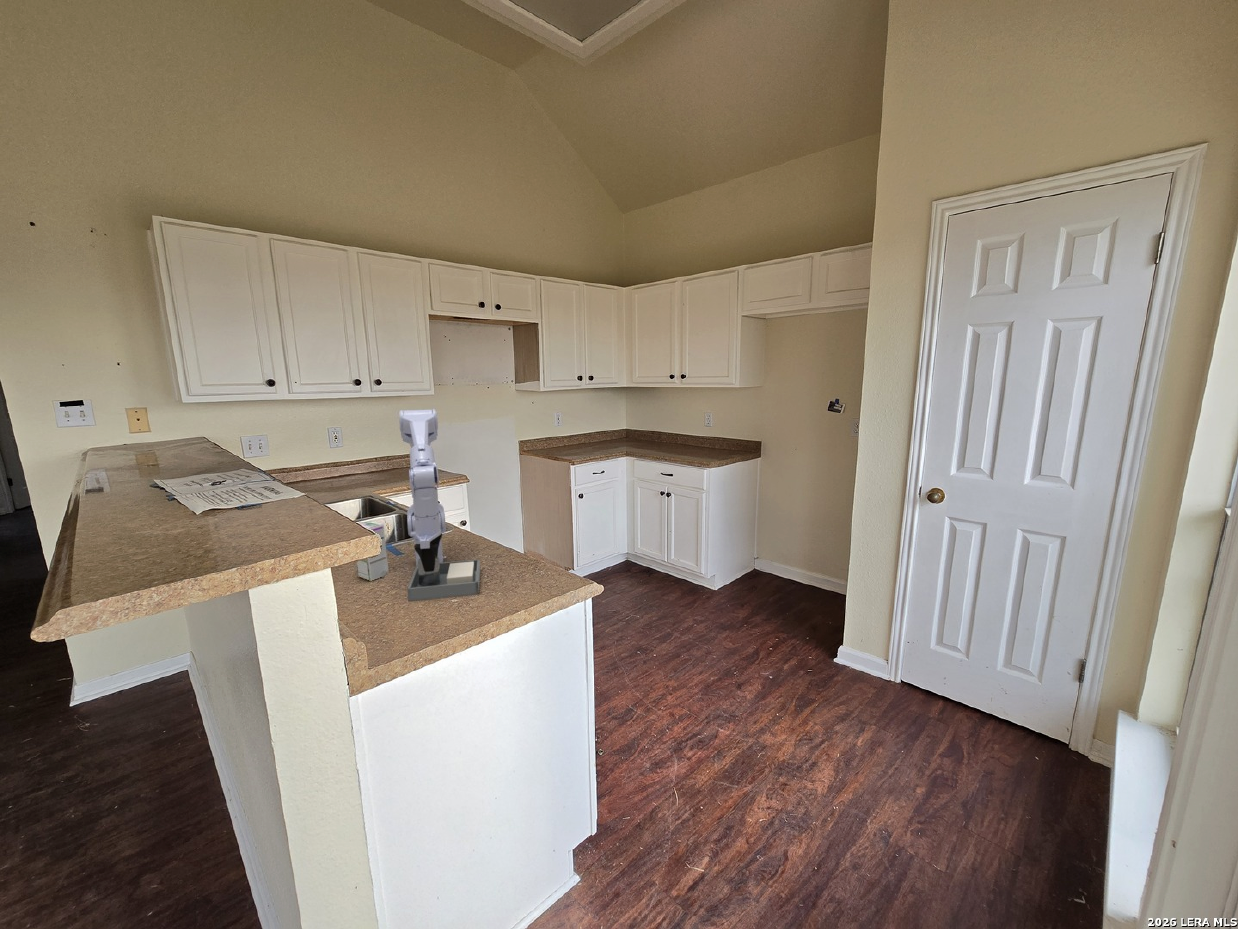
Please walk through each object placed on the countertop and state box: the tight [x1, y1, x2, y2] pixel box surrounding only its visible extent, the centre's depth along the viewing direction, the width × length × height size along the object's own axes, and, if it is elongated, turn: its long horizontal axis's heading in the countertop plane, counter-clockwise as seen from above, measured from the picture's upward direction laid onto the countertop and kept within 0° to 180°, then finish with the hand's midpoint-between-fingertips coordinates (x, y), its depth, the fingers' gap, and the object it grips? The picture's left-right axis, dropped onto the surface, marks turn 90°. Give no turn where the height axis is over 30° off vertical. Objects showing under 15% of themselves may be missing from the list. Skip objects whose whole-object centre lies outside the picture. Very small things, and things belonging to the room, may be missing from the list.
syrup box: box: [355, 520, 389, 582], centre depth 139 cm, size 6×6×14 cm
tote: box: [406, 558, 481, 602], centre depth 132 cm, size 16×16×4 cm
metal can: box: [418, 557, 440, 586], centre depth 130 cm, size 5×5×6 cm
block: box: [447, 562, 475, 584], centre depth 132 cm, size 10×6×4 cm, turn 13°
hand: (430, 567), depth 130 cm, fingers closed on metal can, 5 cm apart
